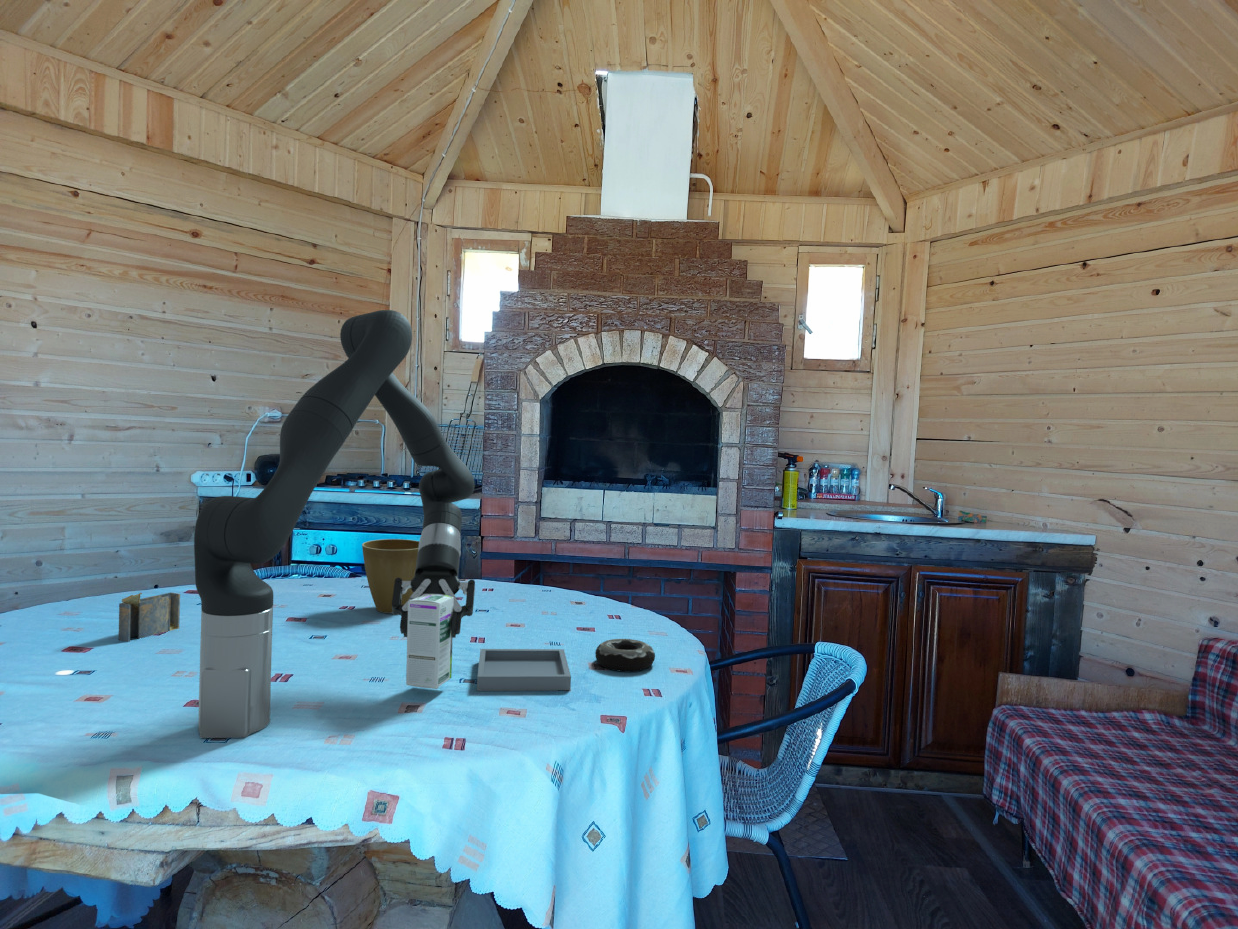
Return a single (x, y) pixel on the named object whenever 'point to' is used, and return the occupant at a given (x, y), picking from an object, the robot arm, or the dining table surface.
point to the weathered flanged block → (148, 615)
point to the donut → (625, 654)
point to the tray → (523, 670)
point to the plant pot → (389, 568)
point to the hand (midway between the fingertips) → (429, 635)
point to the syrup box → (429, 640)
